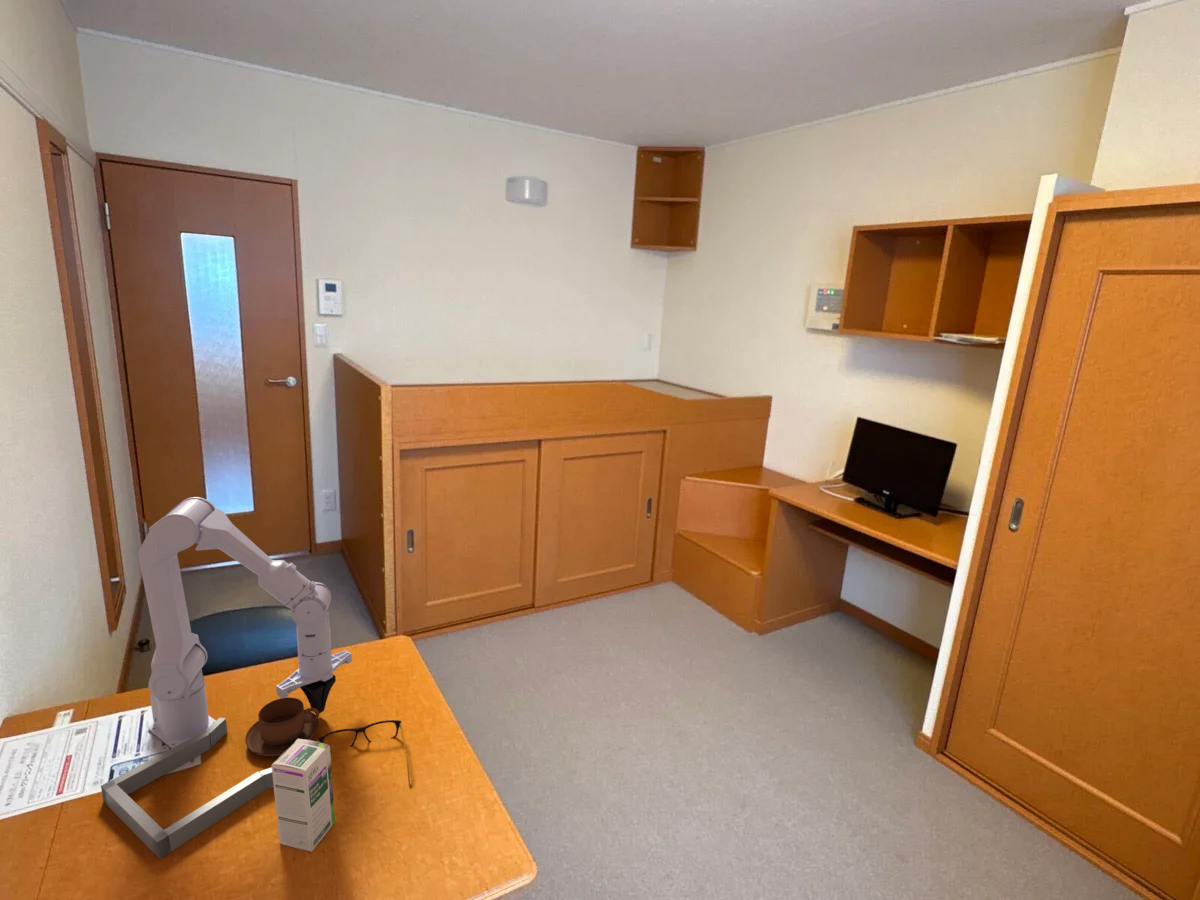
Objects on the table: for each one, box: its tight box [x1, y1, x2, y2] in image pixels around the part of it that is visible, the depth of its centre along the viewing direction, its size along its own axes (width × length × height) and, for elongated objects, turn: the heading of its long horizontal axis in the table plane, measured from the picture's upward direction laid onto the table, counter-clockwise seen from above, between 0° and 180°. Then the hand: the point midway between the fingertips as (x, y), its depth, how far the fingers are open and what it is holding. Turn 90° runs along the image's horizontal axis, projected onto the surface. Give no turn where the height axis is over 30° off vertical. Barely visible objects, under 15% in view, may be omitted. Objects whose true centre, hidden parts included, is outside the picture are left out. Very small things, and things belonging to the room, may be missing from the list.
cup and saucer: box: [244, 697, 320, 757], centre depth 113 cm, size 12×12×6 cm
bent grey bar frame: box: [100, 717, 274, 860], centre depth 101 cm, size 21×19×3 cm
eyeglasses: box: [317, 719, 412, 789], centre depth 107 cm, size 14×14×4 cm
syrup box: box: [271, 738, 336, 853], centre depth 93 cm, size 6×6×14 cm
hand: (318, 710), depth 119 cm, fingers closed
